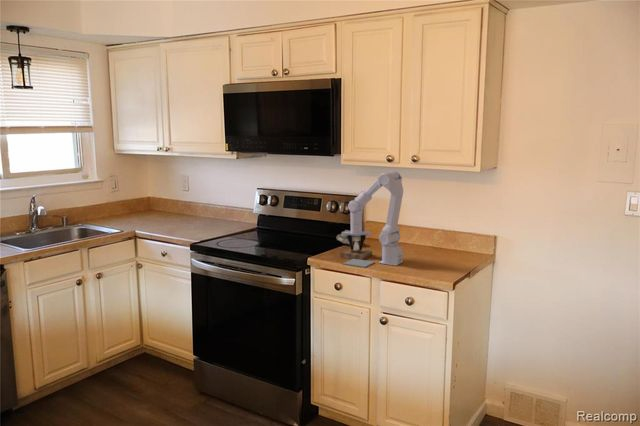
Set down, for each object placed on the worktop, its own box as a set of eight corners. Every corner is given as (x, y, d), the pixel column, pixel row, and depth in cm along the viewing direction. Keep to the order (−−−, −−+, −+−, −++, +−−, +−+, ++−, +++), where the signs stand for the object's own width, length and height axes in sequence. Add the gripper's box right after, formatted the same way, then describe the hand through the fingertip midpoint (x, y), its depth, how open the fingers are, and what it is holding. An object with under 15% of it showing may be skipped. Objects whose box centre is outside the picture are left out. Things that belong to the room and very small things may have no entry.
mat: (374, 262, 248) (374, 261, 248) (365, 267, 240) (365, 266, 240) (353, 259, 254) (353, 258, 254) (342, 264, 246) (342, 263, 246)
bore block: (372, 255, 263) (372, 250, 263) (361, 260, 253) (361, 255, 253) (351, 252, 269) (351, 247, 269) (340, 257, 260) (340, 252, 259)
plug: (361, 255, 262) (361, 240, 260) (357, 257, 259) (357, 241, 257) (354, 254, 264) (354, 239, 263) (351, 256, 261) (350, 241, 259)
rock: (331, 239, 289) (337, 224, 292) (338, 248, 296) (345, 233, 299) (357, 244, 278) (364, 228, 281) (365, 252, 284) (371, 237, 288)
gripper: (370, 222, 262) (370, 247, 264) (341, 222, 263) (342, 248, 265) (370, 224, 255) (370, 251, 257) (341, 224, 256) (342, 251, 258)
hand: (356, 249), depth 261 cm, fingers closed on plug, 4 cm apart
